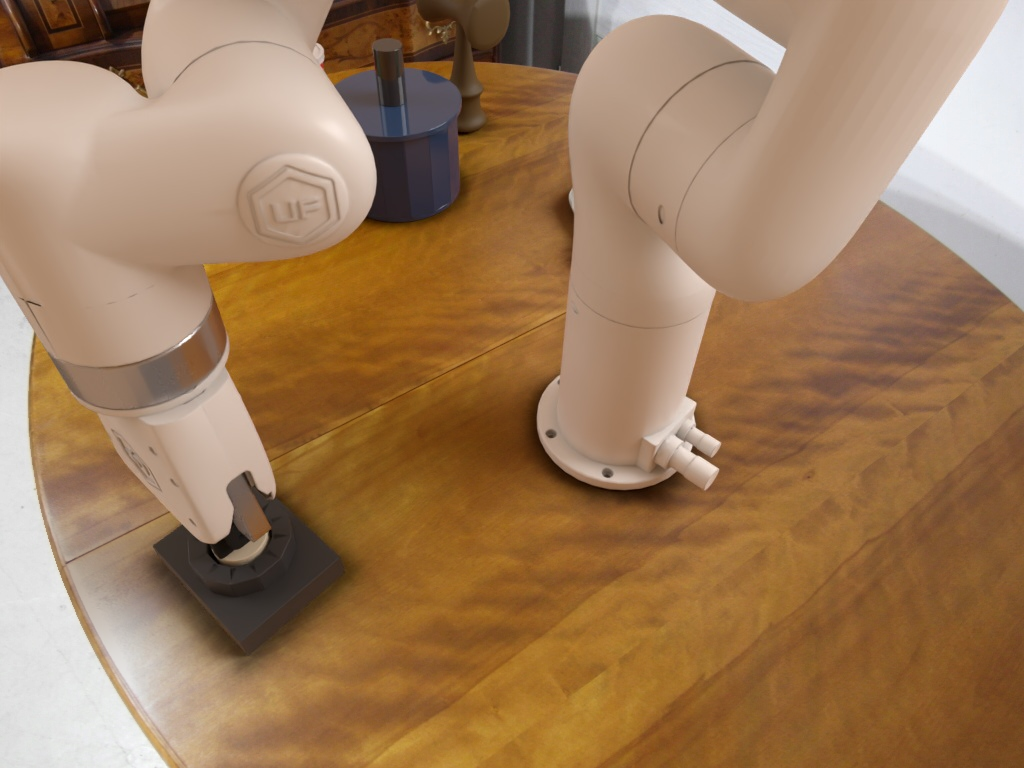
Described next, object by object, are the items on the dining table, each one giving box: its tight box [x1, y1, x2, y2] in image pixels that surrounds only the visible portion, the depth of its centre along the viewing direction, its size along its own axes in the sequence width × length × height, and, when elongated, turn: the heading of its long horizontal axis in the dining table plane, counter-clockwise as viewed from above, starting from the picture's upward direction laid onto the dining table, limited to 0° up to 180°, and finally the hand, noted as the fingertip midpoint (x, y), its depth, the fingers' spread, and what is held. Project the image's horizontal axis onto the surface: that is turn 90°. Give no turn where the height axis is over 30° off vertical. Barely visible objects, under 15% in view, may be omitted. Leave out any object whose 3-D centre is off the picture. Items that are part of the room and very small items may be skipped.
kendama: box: [415, 0, 511, 133], centre depth 85 cm, size 6×10×20 cm, turn 44°
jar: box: [365, 118, 461, 223], centre depth 80 cm, size 13×13×10 cm
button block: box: [152, 487, 346, 657], centre depth 52 cm, size 10×8×4 cm
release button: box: [212, 532, 271, 567], centre depth 51 cm, size 4×4×2 cm
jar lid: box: [333, 37, 462, 142], centre depth 75 cm, size 14×14×7 cm
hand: (234, 537), depth 50 cm, fingers closed
